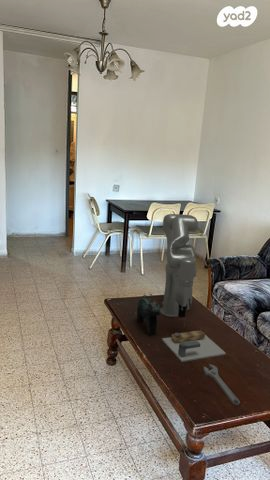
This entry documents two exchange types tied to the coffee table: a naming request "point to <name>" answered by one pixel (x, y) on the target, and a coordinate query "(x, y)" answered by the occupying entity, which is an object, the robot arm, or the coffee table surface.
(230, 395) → the adjustable wrench
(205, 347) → the mounting board
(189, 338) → the tan bar
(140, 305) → the ceramic cat
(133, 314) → the coffee table surface
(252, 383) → the coffee table surface
